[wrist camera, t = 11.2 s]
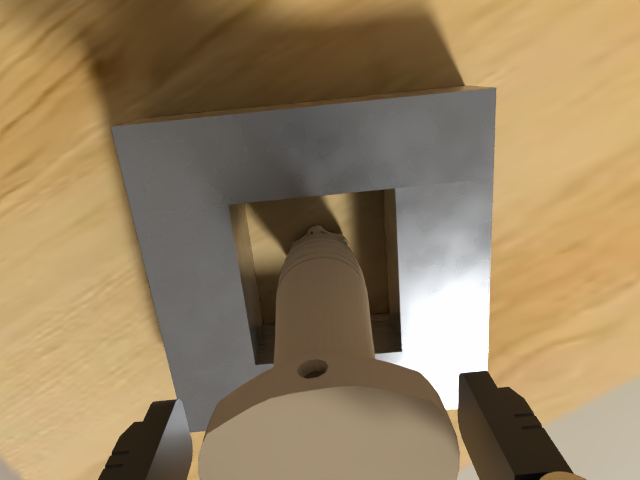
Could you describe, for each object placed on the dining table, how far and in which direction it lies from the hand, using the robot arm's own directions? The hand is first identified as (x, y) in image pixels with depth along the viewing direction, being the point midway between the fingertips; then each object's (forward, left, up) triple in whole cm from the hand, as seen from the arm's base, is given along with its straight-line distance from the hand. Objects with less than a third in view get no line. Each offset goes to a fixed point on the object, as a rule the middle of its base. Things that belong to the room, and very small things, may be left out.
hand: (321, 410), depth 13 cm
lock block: (0, 0, -13) cm, 13 cm away
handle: (0, 0, -13) cm, 13 cm away
